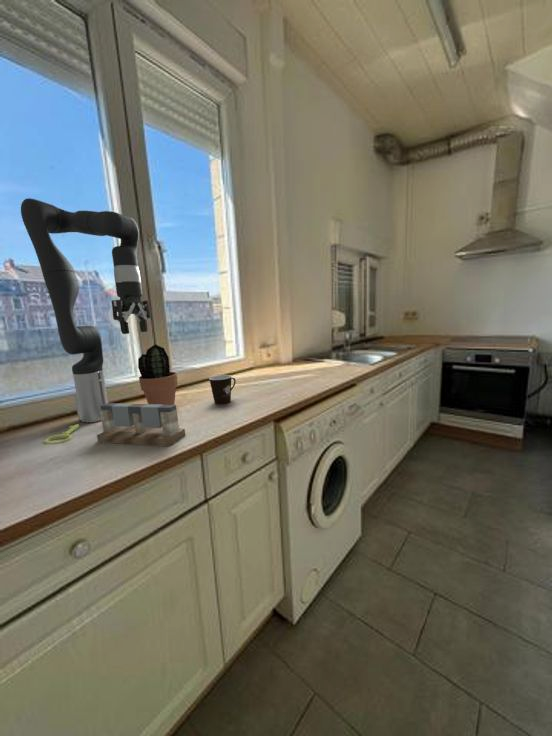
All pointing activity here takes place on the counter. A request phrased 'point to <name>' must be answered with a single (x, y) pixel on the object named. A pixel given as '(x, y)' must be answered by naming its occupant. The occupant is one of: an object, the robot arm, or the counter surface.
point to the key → (62, 436)
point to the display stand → (141, 430)
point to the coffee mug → (221, 388)
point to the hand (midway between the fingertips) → (135, 332)
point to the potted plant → (157, 377)
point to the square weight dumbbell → (148, 411)
